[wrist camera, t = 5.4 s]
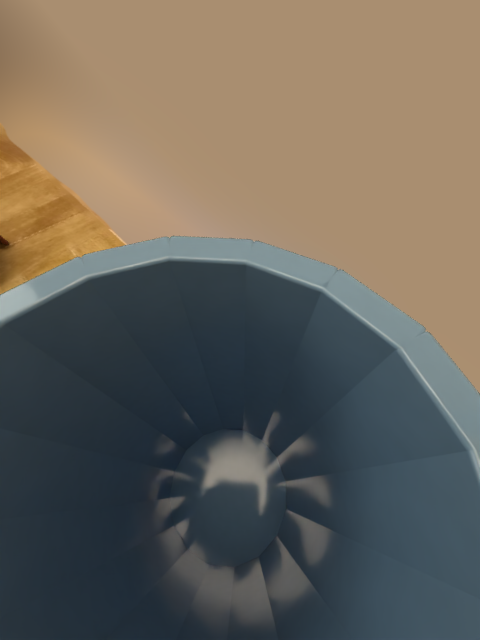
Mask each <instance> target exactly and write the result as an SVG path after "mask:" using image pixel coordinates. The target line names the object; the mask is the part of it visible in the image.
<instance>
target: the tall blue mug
mask: <svg viewBox="0 0 480 640" xmlns="http://www.w3.org/2000/svg"><path fill="white" fill-rule="evenodd" d="M425 330H426V329H425V327H424V326H422V325H421V324H420V323H418V322H417V321H415V320H414V319H412V318H411V317H409V316H408V315H407V314H405V313H404V312H402V311H401V310H400V309H398V308H397V307H395V306H394V305H392V304H391V303H389V302H388V301H387V300H385V299H384V298H382V297H381V296H379V295H378V294H377V293H375V292H374V291H372V290H371V289H369V288H368V287H367V286H365V285H364V284H362V283H361V282H359V281H358V280H356V279H355V278H354V277H352V276H351V275H349V274H348V273H346V272H345V271H344V270H341V269H339V270H338V269H337V268H336V267H335V266H332V265H329V264H325V263H322V262H319V261H316V260H313V259H311V258H308V257H305V256H302V255H299V254H296V253H293V252H290V251H287V250H284V249H281V248H278V247H275V246H272V245H269V244H266V243H263V242H260V241H255V242H253V240H250V239H235V238H209V237H208V238H207V237H187V236H171V237H170V238H169V237H161V238H157V239H152V240H148V241H143V242H138V243H134V244H129V245H125V246H120V247H116V248H111V249H106V250H102V251H97V252H93V253H88V254H84V255H83V256H82V257H76V258H74V259H72V260H70V261H68V262H65V263H63V264H61V265H59V266H57V267H55V268H53V269H51V270H49V271H47V272H45V273H43V274H41V275H39V276H37V277H35V278H33V279H31V280H29V281H27V282H25V283H23V284H21V285H19V286H17V287H15V288H12V289H10V290H8V291H6V292H4V293H2V294H0V640H480V393H479V392H478V391H477V390H476V389H475V387H474V386H473V385H472V384H471V382H470V381H469V380H468V379H467V377H466V376H465V375H464V374H463V373H462V371H461V370H460V369H459V368H458V366H457V365H456V364H455V363H454V361H453V360H452V359H451V358H450V356H449V355H448V354H447V353H446V352H445V351H444V349H443V348H442V347H441V345H440V344H439V343H438V342H437V340H436V339H435V338H434V337H433V336H432V335H431V333H429V332H425Z"/></svg>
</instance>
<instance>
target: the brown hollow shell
mask: <svg viewBox="0 0 480 640" xmlns="http://www.w3.org/2000/svg"><path fill="white" fill-rule="evenodd" d="M0 242H1V243H3V244H5V245H8V241H6V240H5V239H4V238H3V237H2V236H0Z"/></svg>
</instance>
